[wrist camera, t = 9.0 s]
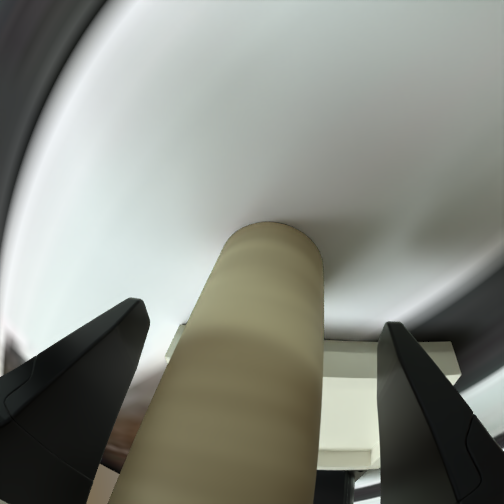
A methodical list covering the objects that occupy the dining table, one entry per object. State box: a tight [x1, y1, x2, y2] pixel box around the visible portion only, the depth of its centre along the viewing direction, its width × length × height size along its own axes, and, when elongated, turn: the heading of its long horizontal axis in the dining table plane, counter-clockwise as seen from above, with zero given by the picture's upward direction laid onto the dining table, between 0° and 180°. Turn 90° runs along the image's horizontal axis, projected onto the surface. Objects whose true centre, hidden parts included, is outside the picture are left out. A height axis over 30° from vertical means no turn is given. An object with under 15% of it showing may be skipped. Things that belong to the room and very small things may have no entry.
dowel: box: [108, 222, 324, 504], centre depth 6 cm, size 3×3×9 cm
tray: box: [165, 325, 461, 470], centre depth 14 cm, size 12×12×2 cm
